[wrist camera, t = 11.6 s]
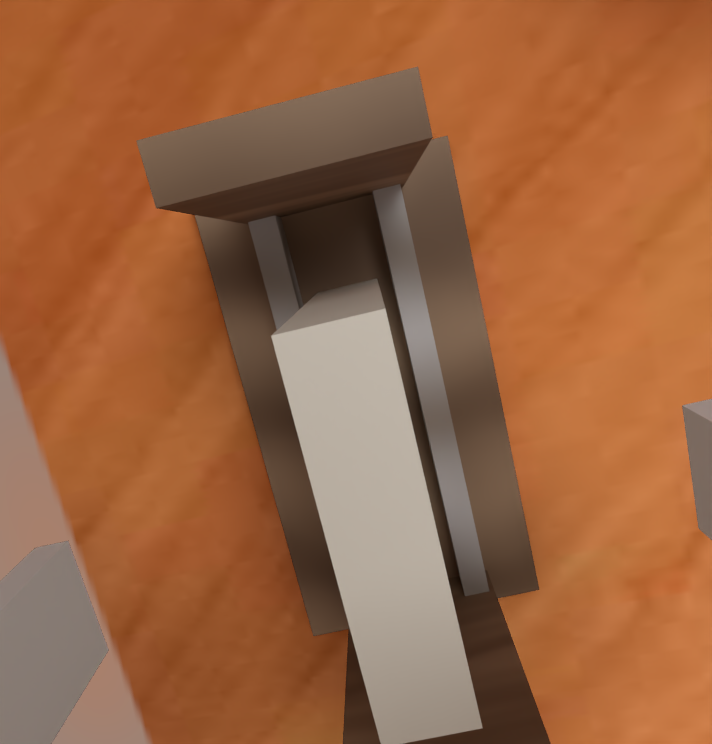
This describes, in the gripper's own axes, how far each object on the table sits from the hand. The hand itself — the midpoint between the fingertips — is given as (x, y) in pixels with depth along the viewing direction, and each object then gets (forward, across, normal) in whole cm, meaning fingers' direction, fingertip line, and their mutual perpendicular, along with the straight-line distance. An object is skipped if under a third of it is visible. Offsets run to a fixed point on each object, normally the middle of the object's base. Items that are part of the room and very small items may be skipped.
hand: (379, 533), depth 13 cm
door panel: (+12, 0, -1) cm, 13 cm away
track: (+14, 0, -1) cm, 14 cm away
